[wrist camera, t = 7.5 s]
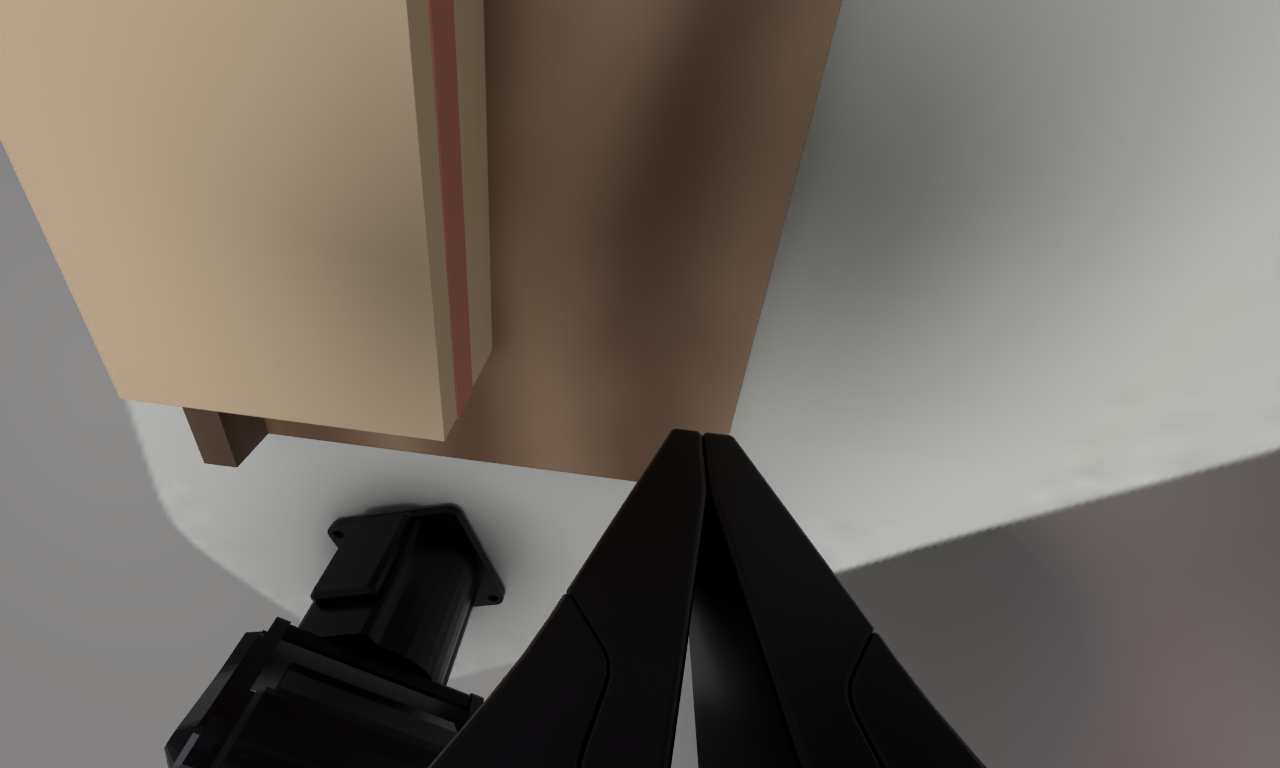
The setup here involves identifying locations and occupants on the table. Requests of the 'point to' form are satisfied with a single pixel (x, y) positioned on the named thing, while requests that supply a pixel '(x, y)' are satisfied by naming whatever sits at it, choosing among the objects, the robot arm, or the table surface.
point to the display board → (617, 227)
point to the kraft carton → (264, 198)
